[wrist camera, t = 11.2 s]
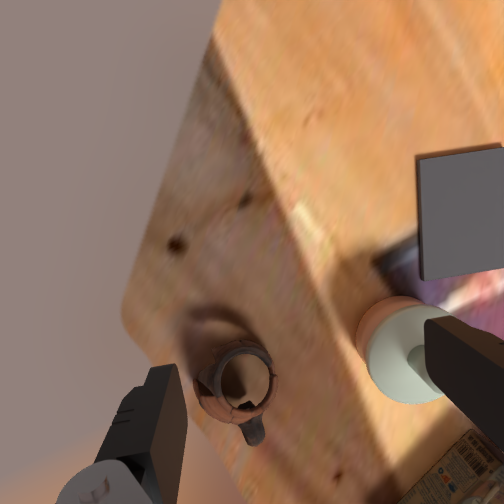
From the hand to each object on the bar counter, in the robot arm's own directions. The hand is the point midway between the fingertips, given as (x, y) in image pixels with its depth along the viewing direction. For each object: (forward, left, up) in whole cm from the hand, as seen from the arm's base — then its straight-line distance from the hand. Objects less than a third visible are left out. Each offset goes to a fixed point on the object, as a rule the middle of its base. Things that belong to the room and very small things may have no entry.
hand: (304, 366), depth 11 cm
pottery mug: (+18, -4, -28) cm, 34 cm away
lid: (+15, +16, -23) cm, 32 cm away
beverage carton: (+40, +21, -29) cm, 54 cm away
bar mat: (+2, +25, -28) cm, 37 cm away
